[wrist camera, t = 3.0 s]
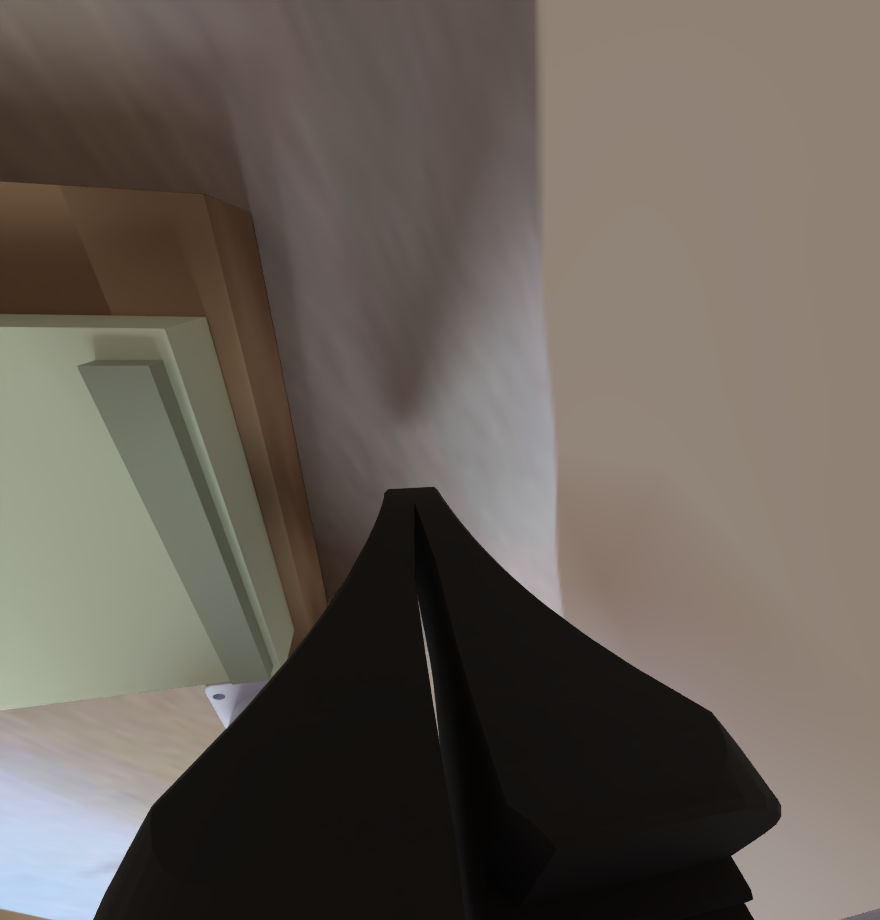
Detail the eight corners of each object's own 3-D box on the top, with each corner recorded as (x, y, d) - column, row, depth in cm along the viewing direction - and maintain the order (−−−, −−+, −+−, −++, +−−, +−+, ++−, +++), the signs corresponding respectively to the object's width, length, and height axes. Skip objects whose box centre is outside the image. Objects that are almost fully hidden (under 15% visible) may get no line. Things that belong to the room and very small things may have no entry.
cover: (294, 629, 12) (280, 688, 10) (-14, 663, 10) (-87, 736, 9) (205, 316, 7) (150, 332, 5) (-394, 307, 6) (-718, 325, 4)
